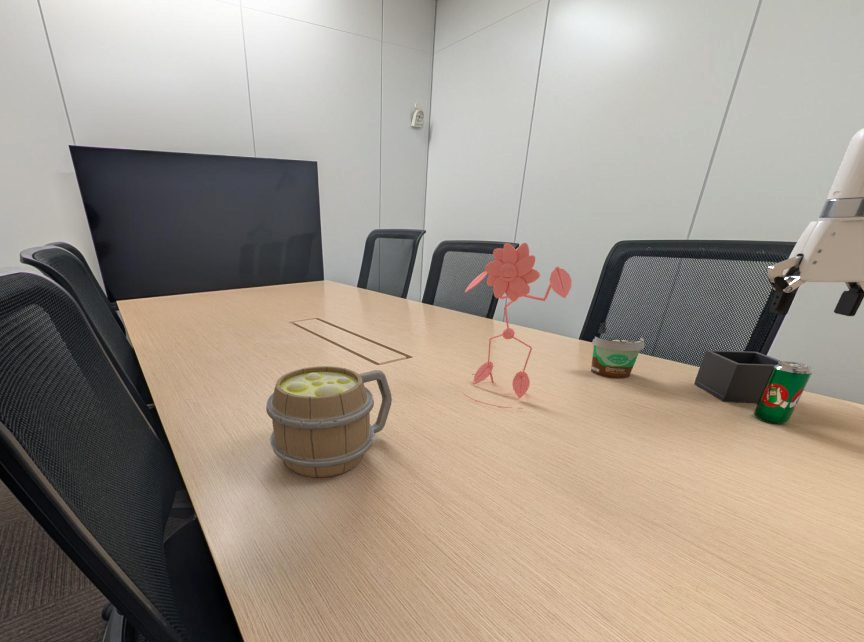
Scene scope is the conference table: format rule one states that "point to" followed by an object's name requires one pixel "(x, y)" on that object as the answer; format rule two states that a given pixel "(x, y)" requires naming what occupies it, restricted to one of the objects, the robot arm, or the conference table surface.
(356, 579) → the conference table surface
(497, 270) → the figurine
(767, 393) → the soda can
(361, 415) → the mug
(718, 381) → the trash bin
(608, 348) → the food container
